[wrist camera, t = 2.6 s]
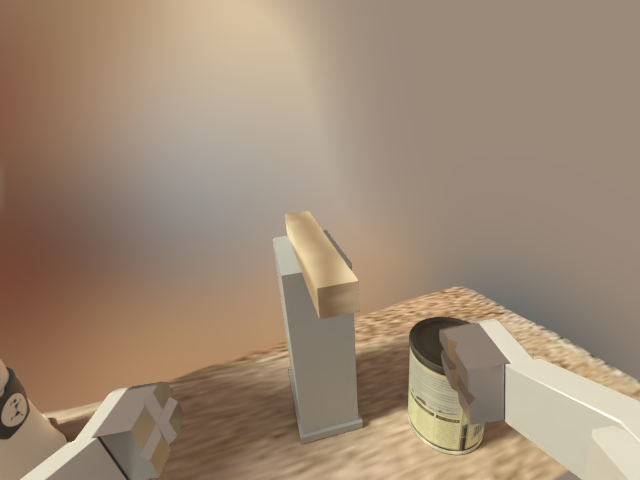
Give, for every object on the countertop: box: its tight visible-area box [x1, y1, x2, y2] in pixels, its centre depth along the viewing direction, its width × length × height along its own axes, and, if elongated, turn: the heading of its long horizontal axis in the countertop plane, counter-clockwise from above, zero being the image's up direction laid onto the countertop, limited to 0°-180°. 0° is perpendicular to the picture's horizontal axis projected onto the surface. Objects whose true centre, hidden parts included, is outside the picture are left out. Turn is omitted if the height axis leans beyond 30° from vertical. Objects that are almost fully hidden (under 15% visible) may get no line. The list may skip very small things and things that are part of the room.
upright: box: [273, 230, 363, 444], centre depth 45 cm, size 9×13×26 cm
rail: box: [285, 211, 360, 319], centre depth 36 cm, size 4×22×3 cm, turn 13°
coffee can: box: [407, 317, 485, 455], centre depth 42 cm, size 10×10×14 cm
